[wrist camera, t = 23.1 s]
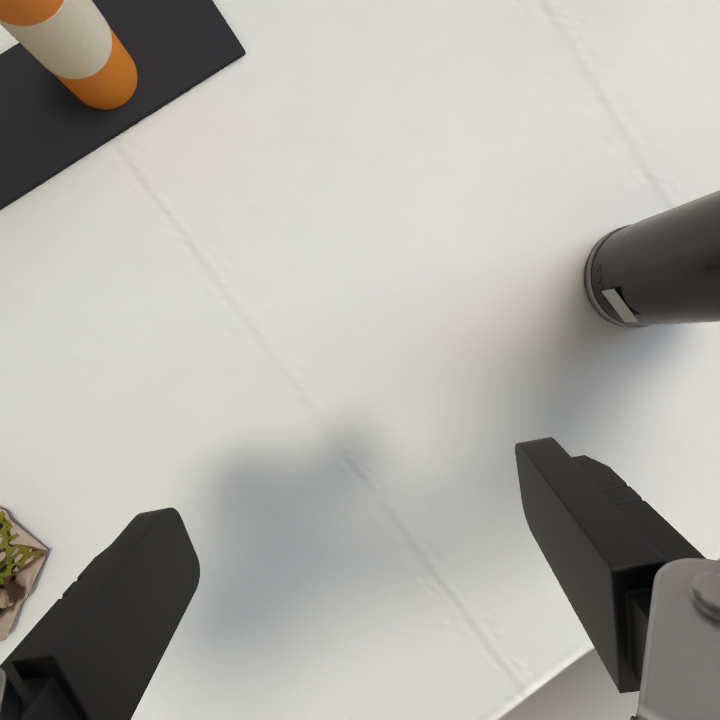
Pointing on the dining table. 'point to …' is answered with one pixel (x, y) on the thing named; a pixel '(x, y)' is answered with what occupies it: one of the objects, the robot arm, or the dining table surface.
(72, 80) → the juice bottle
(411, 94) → the dining table surface
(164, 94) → the front mat
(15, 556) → the bear figurine
